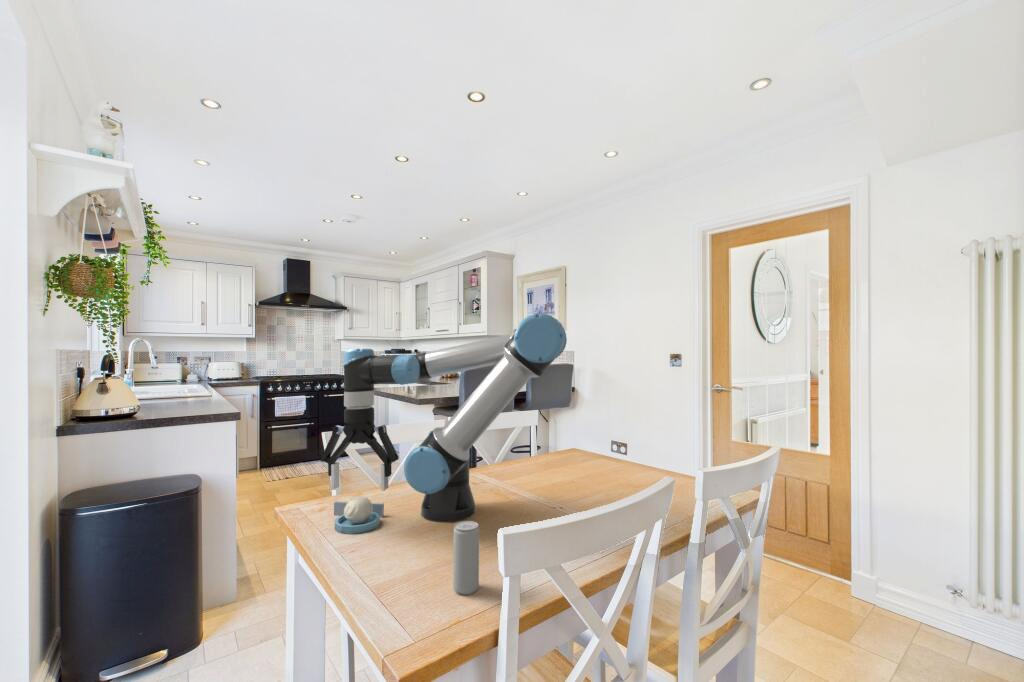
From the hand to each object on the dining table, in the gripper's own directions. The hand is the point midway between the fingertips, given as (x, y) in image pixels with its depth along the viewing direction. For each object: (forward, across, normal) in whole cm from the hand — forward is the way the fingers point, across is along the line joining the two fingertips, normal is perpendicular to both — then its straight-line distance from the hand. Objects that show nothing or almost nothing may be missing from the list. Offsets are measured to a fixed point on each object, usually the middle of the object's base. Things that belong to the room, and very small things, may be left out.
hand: (359, 489), depth 116 cm
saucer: (+9, +1, 0) cm, 9 cm away
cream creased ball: (+9, +1, 0) cm, 9 cm away
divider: (+9, +4, -7) cm, 12 cm away
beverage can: (+10, -34, +28) cm, 45 cm away
